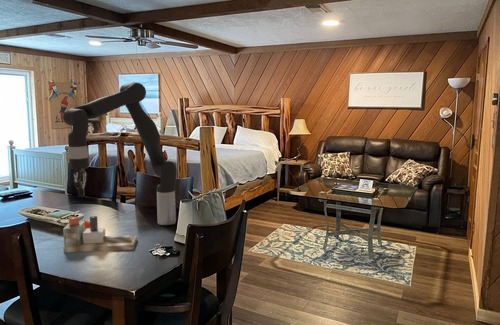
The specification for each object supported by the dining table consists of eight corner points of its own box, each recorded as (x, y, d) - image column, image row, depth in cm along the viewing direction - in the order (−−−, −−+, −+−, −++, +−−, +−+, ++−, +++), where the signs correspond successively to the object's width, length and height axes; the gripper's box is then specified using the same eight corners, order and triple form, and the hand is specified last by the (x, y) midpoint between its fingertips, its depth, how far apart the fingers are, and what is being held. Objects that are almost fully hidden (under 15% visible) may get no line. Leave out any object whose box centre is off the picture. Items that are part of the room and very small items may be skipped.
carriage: (105, 238, 171) (104, 214, 169) (102, 243, 165) (101, 218, 163) (86, 239, 169) (85, 215, 168) (83, 244, 164) (81, 219, 162)
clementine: (77, 233, 184) (76, 218, 183) (92, 231, 187) (92, 217, 186) (77, 238, 177) (76, 223, 176) (93, 236, 179) (92, 222, 178)
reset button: (80, 223, 167) (80, 216, 166) (77, 226, 163) (77, 219, 163) (70, 223, 166) (70, 216, 166) (67, 226, 162) (67, 219, 162)
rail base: (136, 239, 176) (136, 218, 174) (133, 249, 164) (132, 227, 163) (72, 242, 172) (71, 221, 170) (63, 252, 160) (62, 229, 158)
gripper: (83, 158, 155) (86, 200, 158) (92, 154, 168) (94, 192, 171) (64, 159, 154) (67, 201, 157) (74, 154, 167) (76, 193, 170)
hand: (81, 196), depth 164 cm, fingers closed
